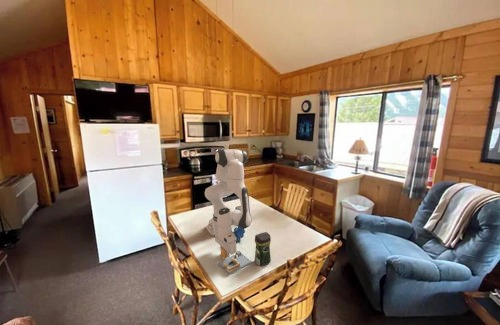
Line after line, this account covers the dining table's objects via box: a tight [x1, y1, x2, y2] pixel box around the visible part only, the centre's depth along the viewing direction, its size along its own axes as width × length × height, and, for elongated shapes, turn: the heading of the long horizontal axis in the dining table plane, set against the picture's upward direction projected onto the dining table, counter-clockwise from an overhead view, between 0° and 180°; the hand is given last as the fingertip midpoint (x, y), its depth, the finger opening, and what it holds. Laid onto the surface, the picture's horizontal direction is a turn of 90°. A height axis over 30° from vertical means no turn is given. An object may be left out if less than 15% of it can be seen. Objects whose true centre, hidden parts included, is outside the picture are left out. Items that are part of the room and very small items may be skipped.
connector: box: [220, 247, 230, 260], centre depth 136 cm, size 4×4×7 cm
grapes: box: [232, 226, 246, 242], centre depth 153 cm, size 12×7×12 cm, turn 122°
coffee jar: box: [254, 231, 272, 267], centre depth 129 cm, size 10×8×19 cm
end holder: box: [223, 258, 240, 273], centre depth 124 cm, size 7×8×2 cm
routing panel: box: [217, 252, 253, 276], centre depth 129 cm, size 12×17×1 cm
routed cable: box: [229, 250, 242, 265], centre depth 131 cm, size 6×11×2 cm, turn 129°
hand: (225, 253), depth 136 cm, fingers open, 4 cm apart
